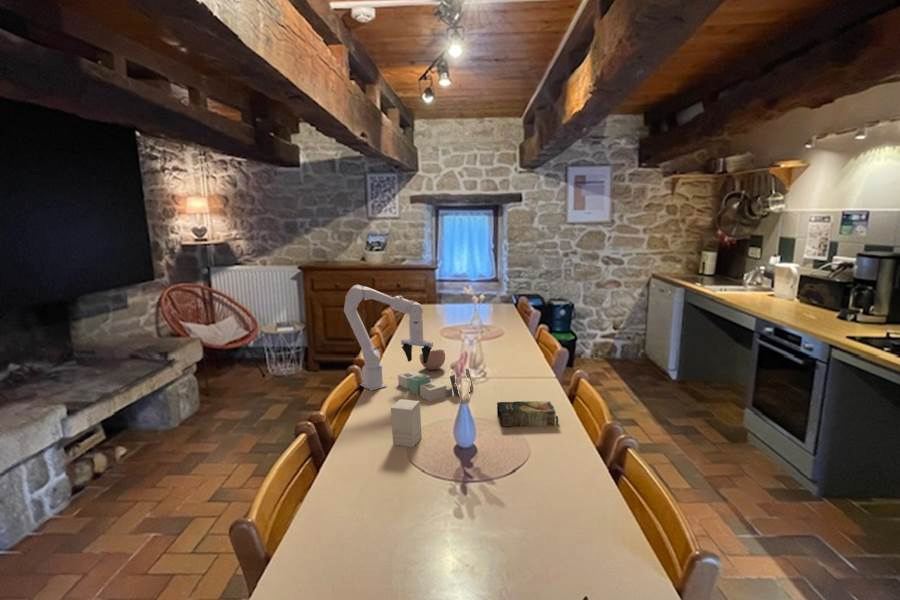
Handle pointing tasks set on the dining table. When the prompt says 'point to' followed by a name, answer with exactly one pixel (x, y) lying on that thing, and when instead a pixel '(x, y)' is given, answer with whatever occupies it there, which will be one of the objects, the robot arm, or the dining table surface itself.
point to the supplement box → (406, 422)
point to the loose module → (418, 382)
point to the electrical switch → (455, 384)
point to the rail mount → (426, 387)
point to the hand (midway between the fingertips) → (417, 361)
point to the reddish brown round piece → (434, 359)
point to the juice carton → (527, 413)
